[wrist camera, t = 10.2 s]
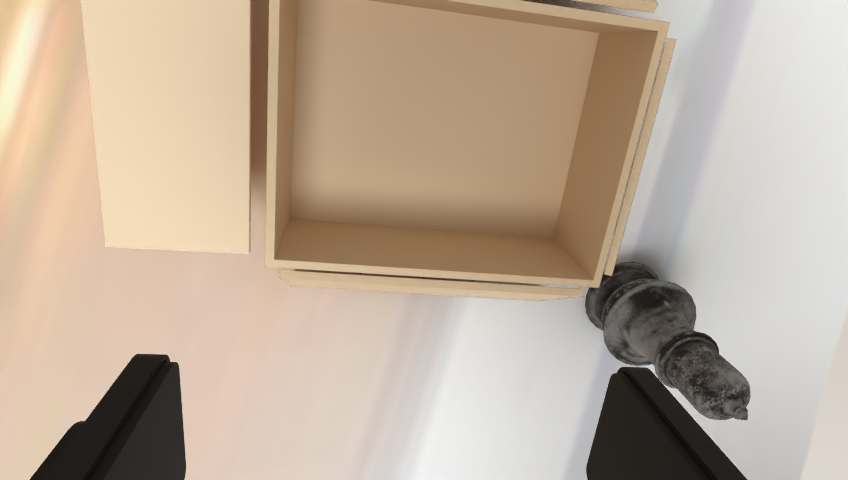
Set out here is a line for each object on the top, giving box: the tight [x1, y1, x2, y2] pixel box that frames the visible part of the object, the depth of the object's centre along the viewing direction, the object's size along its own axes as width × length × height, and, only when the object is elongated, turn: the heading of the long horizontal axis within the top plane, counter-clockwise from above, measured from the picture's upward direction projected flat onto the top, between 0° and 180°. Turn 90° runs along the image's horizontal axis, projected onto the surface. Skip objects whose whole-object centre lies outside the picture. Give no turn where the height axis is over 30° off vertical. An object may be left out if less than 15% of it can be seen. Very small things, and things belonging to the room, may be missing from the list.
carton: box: [265, 0, 676, 301], centre depth 26 cm, size 20×20×6 cm
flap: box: [81, 0, 251, 254], centre depth 21 cm, size 1×11×6 cm
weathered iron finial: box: [585, 262, 750, 420], centre depth 29 cm, size 6×6×12 cm
